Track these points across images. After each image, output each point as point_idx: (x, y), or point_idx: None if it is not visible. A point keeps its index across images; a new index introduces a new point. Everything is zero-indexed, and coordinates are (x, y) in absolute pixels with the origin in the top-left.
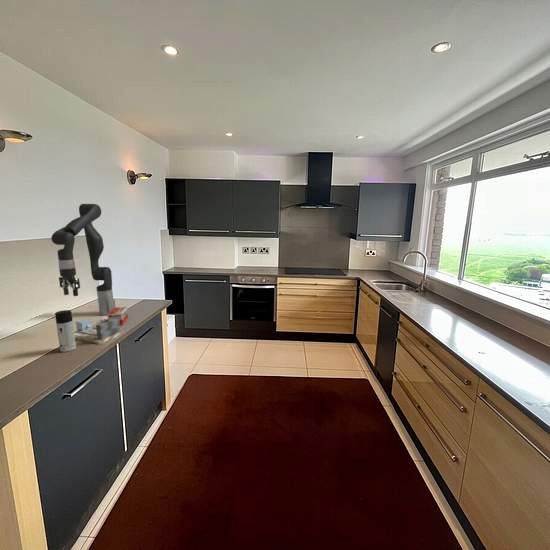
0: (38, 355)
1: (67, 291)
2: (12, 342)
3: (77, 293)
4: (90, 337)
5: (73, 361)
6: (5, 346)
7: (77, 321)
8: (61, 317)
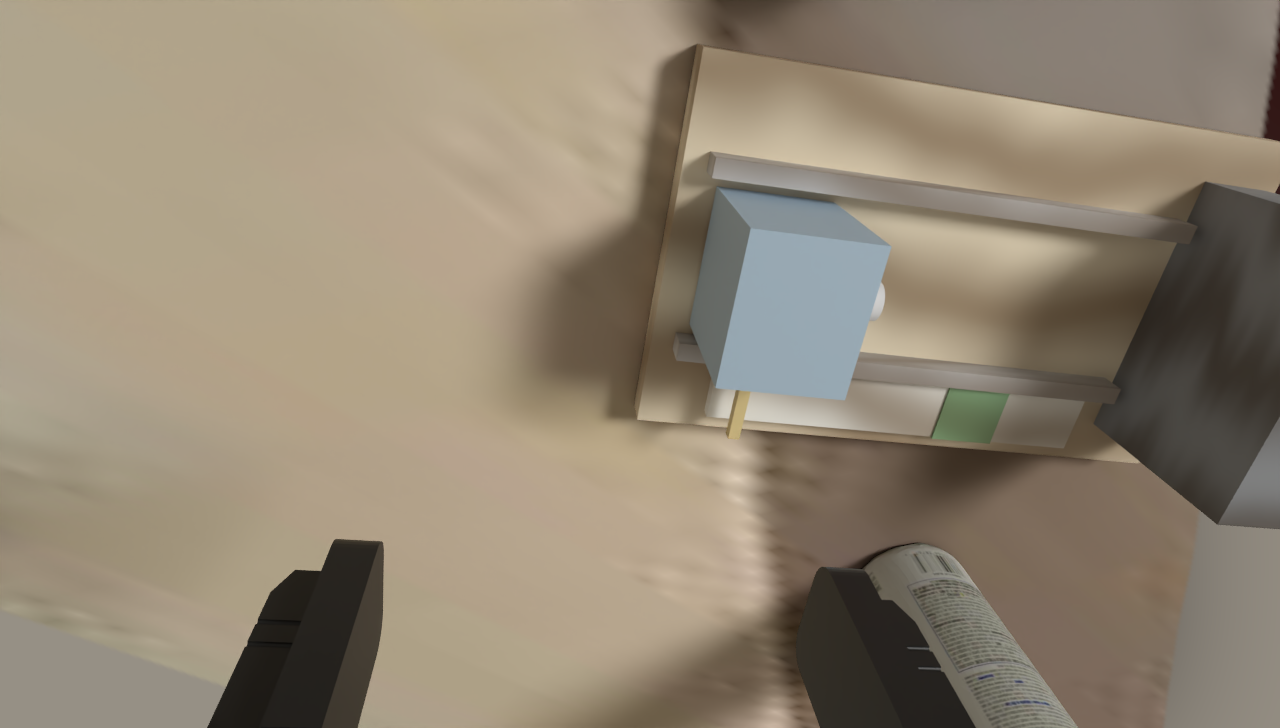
0: (749, 707)
1: (357, 649)
2: (202, 631)
3: (921, 655)
4: (1012, 437)
5: (1092, 692)
6: None
7: (733, 373)
8: None
